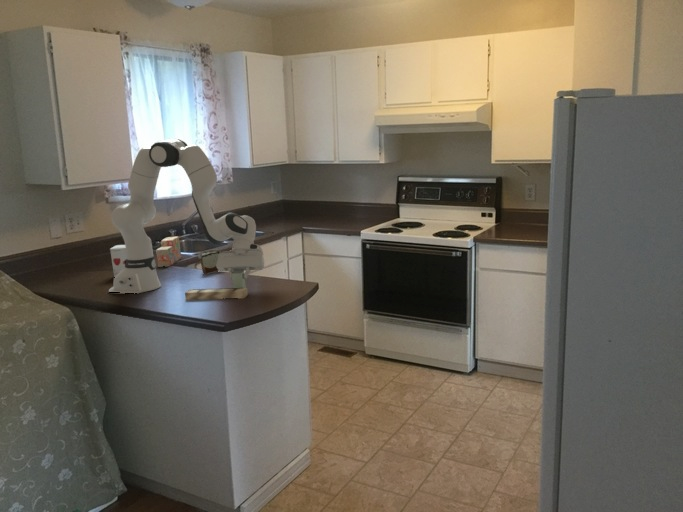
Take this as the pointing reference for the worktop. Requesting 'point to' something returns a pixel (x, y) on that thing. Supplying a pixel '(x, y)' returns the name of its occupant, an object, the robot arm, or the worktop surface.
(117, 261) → the supplement box
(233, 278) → the post
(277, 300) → the worktop surface
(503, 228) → the worktop surface
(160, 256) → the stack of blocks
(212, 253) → the food container
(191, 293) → the maple plank
